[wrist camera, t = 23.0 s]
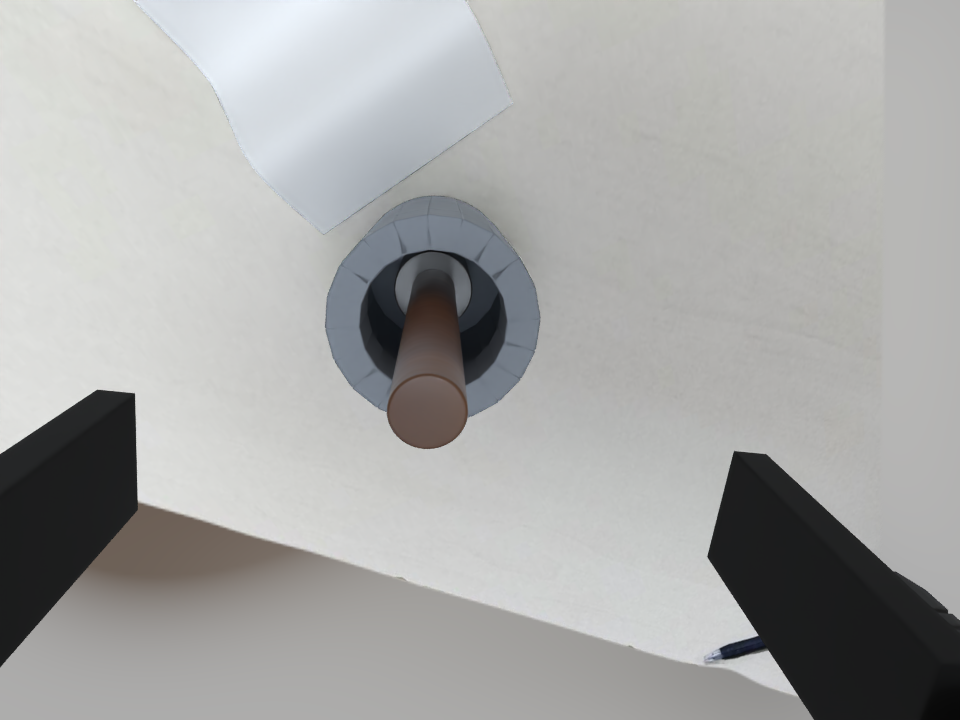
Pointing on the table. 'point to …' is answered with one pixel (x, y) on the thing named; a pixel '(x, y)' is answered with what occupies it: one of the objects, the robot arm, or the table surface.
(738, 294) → the table surface
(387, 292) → the grey cylindrical holder
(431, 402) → the brown and grey rod
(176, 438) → the table surface
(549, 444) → the table surface
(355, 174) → the file organizer
